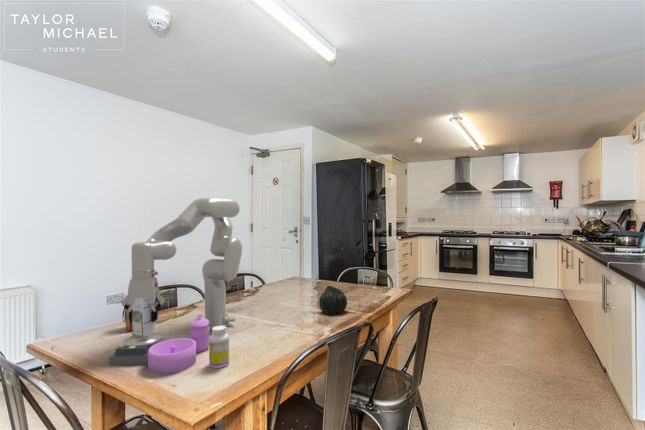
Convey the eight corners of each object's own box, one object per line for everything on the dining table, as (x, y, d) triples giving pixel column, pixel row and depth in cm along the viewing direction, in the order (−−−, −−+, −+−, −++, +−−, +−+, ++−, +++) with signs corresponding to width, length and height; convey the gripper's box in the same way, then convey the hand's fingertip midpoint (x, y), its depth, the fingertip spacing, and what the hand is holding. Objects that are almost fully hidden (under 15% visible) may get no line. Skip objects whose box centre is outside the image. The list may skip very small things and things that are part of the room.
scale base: (169, 345, 130) (168, 331, 130) (150, 363, 114) (150, 347, 114) (132, 346, 129) (132, 332, 129) (109, 365, 113) (109, 349, 113)
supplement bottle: (212, 360, 116) (211, 324, 116) (230, 359, 117) (230, 324, 117) (207, 369, 109) (206, 331, 110) (227, 368, 110) (226, 330, 110)
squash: (355, 304, 170) (343, 279, 178) (332, 309, 162) (320, 284, 170) (343, 316, 179) (332, 293, 187) (321, 323, 171) (310, 298, 179)
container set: (172, 378, 104) (172, 337, 104) (137, 370, 109) (137, 331, 109) (222, 348, 127) (222, 314, 127) (191, 343, 133) (191, 311, 133)
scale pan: (167, 336, 130) (167, 331, 130) (153, 349, 117) (153, 344, 117) (134, 337, 129) (134, 332, 129) (115, 350, 116) (115, 345, 116)
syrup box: (155, 331, 125) (155, 294, 125) (142, 337, 120) (142, 298, 120) (144, 330, 127) (144, 293, 127) (131, 335, 122) (130, 297, 122)
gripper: (170, 272, 128) (170, 317, 128) (124, 273, 127) (125, 319, 127) (162, 276, 120) (162, 323, 120) (113, 277, 119) (114, 325, 119)
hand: (143, 321), depth 124 cm, fingers closed on syrup box, 7 cm apart
